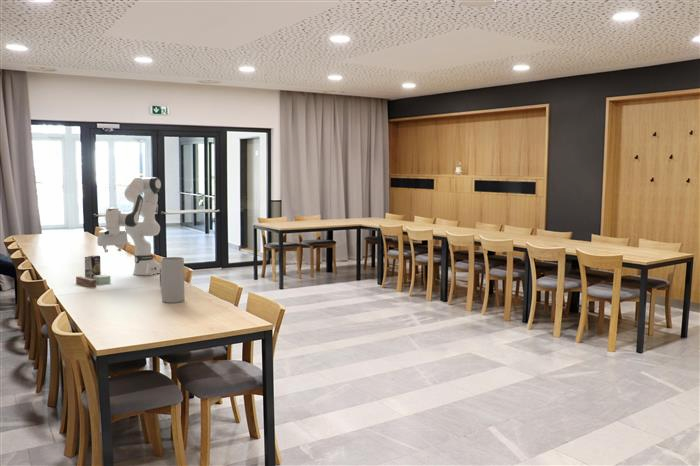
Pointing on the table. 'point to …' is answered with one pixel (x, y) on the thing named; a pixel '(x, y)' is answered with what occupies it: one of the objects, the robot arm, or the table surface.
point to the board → (86, 281)
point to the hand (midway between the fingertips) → (112, 251)
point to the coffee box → (92, 266)
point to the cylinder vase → (172, 279)
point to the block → (102, 279)
